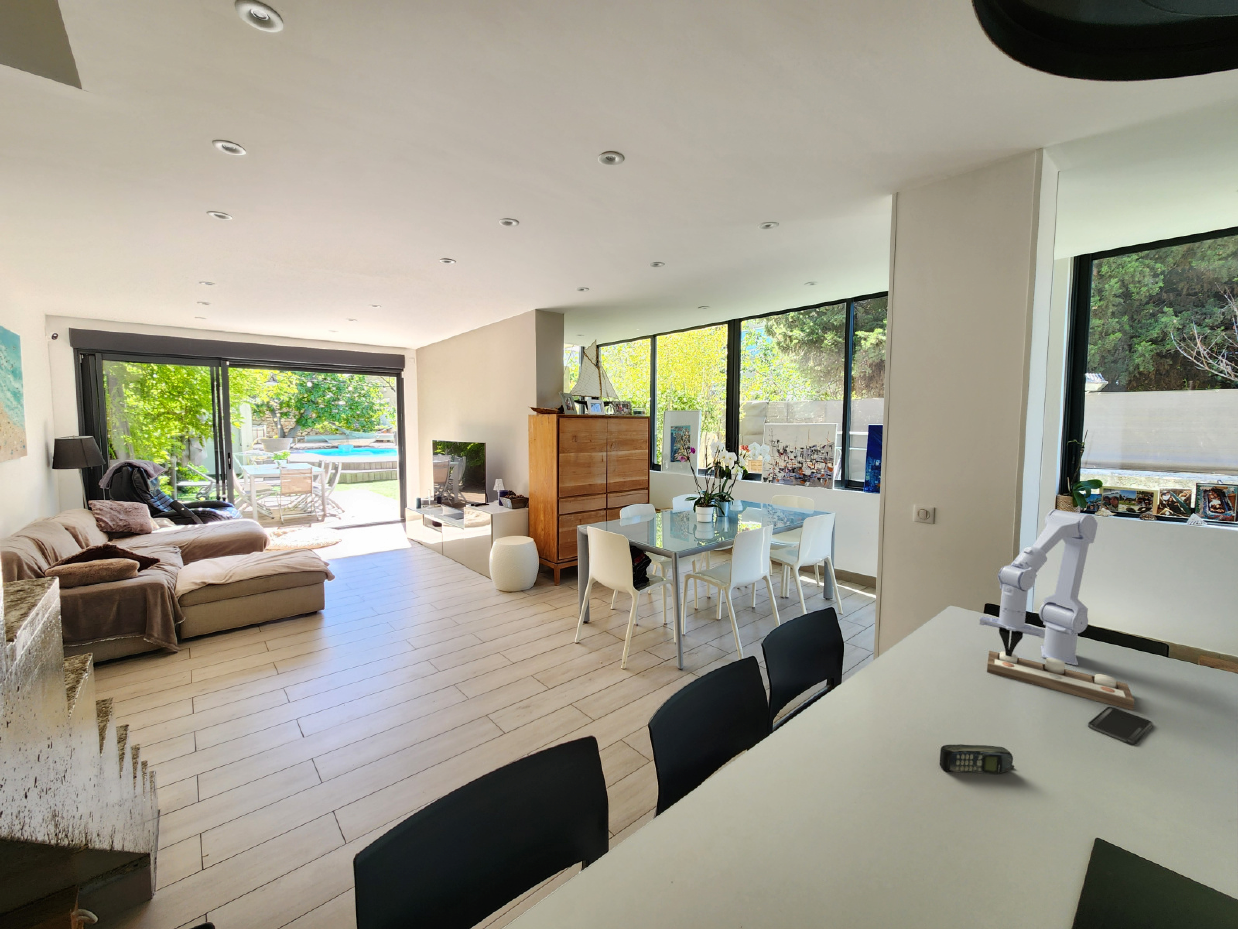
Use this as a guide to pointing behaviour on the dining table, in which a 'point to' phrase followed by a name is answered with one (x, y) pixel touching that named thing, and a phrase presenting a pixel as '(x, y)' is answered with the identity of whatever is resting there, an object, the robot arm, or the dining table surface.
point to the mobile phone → (975, 759)
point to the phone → (1120, 725)
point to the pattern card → (1060, 678)
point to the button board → (1061, 686)
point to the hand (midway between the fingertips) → (1008, 655)
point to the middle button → (1055, 665)
